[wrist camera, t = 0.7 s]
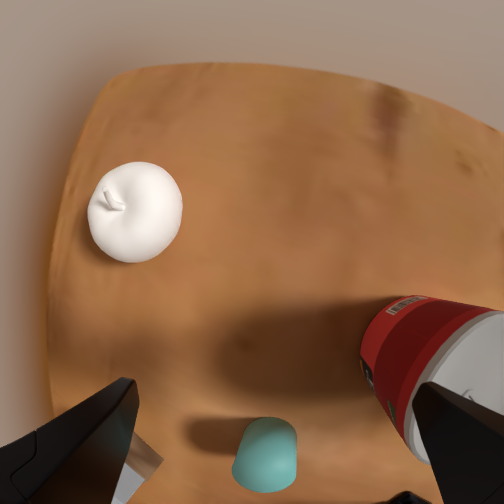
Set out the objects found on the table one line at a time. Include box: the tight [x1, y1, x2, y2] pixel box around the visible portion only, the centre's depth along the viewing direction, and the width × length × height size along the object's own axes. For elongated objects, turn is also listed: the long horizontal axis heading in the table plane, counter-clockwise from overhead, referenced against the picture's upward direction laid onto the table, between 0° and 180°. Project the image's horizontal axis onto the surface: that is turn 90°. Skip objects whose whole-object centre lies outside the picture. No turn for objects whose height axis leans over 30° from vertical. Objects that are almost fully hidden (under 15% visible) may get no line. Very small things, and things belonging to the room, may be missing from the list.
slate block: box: [111, 463, 144, 504], centre depth 16 cm, size 5×5×4 cm
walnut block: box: [125, 431, 164, 484], centre depth 19 cm, size 6×6×4 cm
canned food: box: [360, 295, 504, 465], centre depth 13 cm, size 8×8×11 cm
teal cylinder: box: [232, 417, 297, 493], centre depth 17 cm, size 4×4×5 cm
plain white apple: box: [87, 162, 183, 263], centre depth 18 cm, size 7×7×8 cm
